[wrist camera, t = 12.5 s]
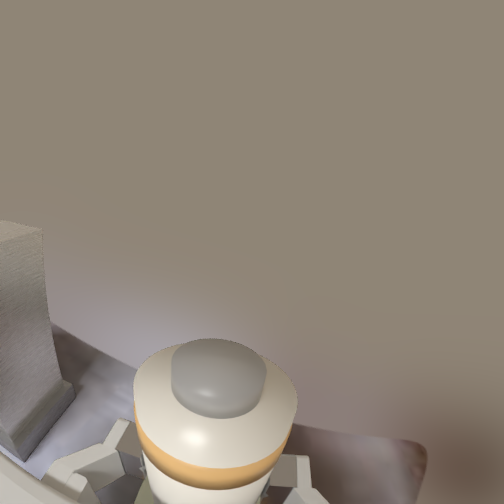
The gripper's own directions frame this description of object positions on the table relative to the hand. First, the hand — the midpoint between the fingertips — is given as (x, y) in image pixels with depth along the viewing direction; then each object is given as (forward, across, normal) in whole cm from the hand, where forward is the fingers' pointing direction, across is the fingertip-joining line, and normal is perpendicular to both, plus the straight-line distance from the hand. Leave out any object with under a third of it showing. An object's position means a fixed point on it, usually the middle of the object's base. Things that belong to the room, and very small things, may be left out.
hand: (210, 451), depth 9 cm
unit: (+3, +16, +10) cm, 19 cm away
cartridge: (-1, 0, +6) cm, 6 cm away
